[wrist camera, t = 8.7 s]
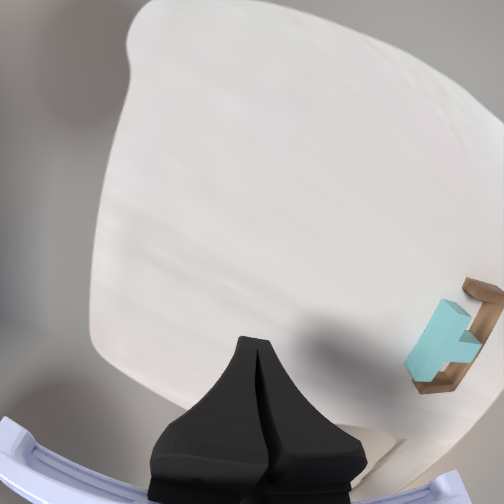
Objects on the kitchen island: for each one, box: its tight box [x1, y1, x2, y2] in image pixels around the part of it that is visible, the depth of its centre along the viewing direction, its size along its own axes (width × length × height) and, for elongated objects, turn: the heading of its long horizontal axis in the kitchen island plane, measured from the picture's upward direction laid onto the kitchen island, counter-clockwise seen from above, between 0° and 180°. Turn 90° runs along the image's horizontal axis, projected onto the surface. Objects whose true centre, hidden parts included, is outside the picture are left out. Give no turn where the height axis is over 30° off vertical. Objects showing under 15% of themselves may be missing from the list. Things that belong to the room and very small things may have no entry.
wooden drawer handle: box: [412, 277, 504, 394], centre depth 23 cm, size 13×6×2 cm, turn 167°
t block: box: [404, 299, 482, 382], centre depth 23 cm, size 8×8×3 cm
